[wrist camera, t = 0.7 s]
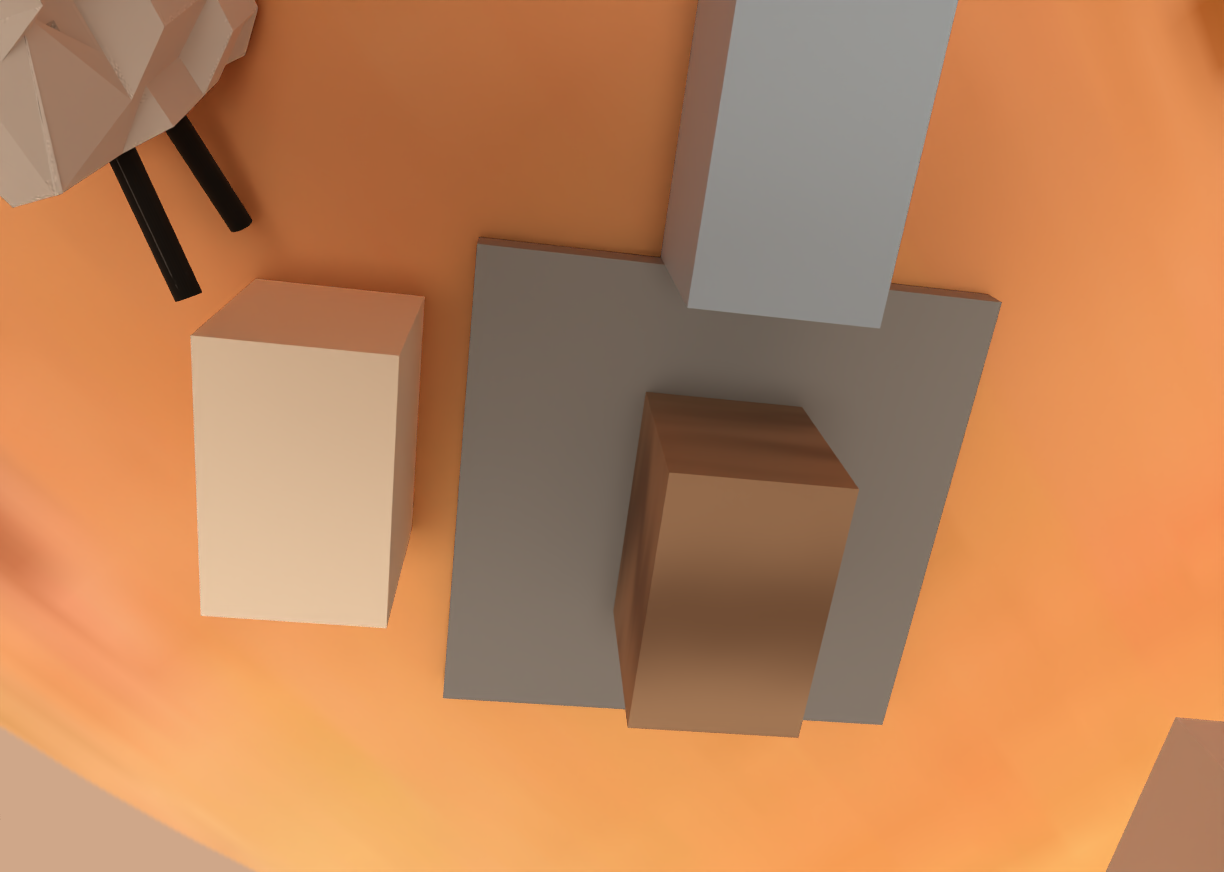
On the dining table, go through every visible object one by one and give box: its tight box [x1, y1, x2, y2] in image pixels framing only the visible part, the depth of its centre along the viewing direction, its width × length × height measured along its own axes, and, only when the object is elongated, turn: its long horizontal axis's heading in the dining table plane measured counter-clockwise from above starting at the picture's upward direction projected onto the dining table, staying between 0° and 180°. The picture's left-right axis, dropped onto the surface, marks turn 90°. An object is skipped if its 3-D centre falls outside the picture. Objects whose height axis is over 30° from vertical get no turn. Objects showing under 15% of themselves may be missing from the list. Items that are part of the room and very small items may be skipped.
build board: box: [443, 237, 1002, 725], centre depth 33 cm, size 16×16×1 cm
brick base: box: [613, 392, 859, 738], centre depth 29 cm, size 8×5×6 cm, turn 173°
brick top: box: [661, 0, 958, 329], centre depth 26 cm, size 8×5×6 cm, turn 173°
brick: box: [191, 279, 425, 628], centre depth 28 cm, size 8×5×6 cm, turn 173°
